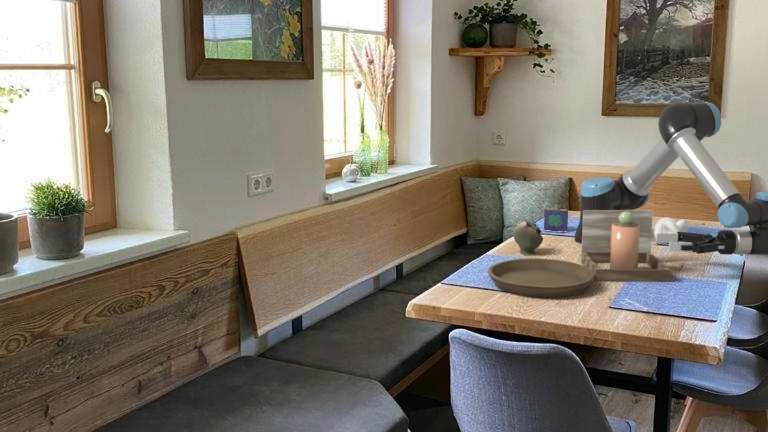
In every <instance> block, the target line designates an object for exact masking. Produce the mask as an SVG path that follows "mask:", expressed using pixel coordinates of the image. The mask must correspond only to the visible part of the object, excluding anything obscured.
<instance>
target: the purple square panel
mask: <svg viewBox="0 0 768 432" xmlns="http://www.w3.org/2000/svg"><path fill="white" fill-rule="evenodd" d="M568 216H569V210H568V209H566V208H564V209H560V208H559V204H554V207H550V206H549V207H548V208H545V209H544V215H543V217H544V219H543V231H544V230H551V231H567V232H568V231H569V229H568V228H569V227H568V226H569V225H568V224H569V220H568V218H569V217H568Z"/></svg>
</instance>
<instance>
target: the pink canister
mask: <svg viewBox="0 0 768 432" xmlns="http://www.w3.org/2000/svg"><path fill="white" fill-rule="evenodd" d="M639 234H640V225H639V224H638V223H635V222H633V215H632V214H631V213H630V212H627V211H625V212H622V213H621V214H620V215H619V221H617V222H613V223H612V229H611V252H610V263H609V269H639V263H638V254H639Z"/></svg>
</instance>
